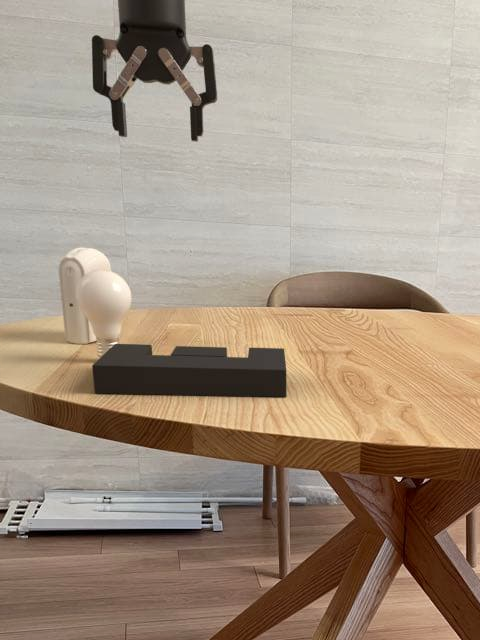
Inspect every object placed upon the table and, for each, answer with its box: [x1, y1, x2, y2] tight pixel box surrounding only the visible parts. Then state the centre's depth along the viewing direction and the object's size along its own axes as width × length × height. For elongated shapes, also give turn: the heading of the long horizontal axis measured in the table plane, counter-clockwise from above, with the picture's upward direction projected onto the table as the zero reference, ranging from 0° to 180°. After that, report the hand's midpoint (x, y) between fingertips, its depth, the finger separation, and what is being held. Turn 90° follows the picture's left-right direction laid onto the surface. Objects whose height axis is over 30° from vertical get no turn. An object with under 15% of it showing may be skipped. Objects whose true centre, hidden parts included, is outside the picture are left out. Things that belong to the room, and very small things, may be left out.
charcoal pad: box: [91, 343, 287, 398], centre depth 94 cm, size 20×14×3 cm
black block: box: [170, 345, 228, 357], centre depth 97 cm, size 6×6×3 cm
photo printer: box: [58, 246, 112, 345], centre depth 116 cm, size 10×4×12 cm, turn 177°
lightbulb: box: [76, 269, 133, 359], centre depth 101 cm, size 6×6×11 cm
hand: (158, 138), depth 101 cm, fingers open, 8 cm apart
